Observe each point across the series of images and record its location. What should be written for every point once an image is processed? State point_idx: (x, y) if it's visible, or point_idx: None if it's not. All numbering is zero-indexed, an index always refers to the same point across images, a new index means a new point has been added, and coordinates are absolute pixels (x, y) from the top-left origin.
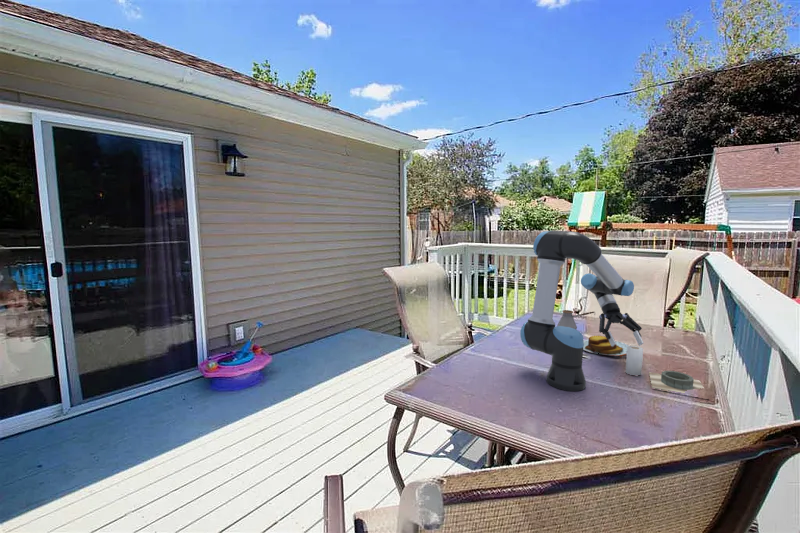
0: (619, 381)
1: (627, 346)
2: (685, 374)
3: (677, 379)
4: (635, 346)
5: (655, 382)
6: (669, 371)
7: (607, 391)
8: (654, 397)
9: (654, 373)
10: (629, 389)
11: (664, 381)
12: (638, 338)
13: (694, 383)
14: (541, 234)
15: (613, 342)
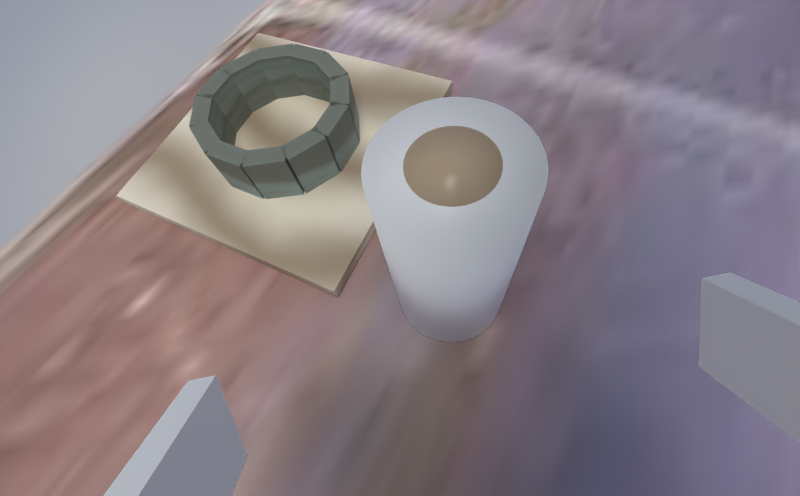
0: (598, 155)
1: (535, 208)
2: (201, 123)
3: (311, 54)
4: (416, 220)
5: None
6: (266, 152)
7: (699, 38)
8: (484, 26)
9: (313, 264)
10: (573, 74)
11: (356, 113)
12: (177, 493)
13: (185, 153)
14: None
15: (759, 296)
